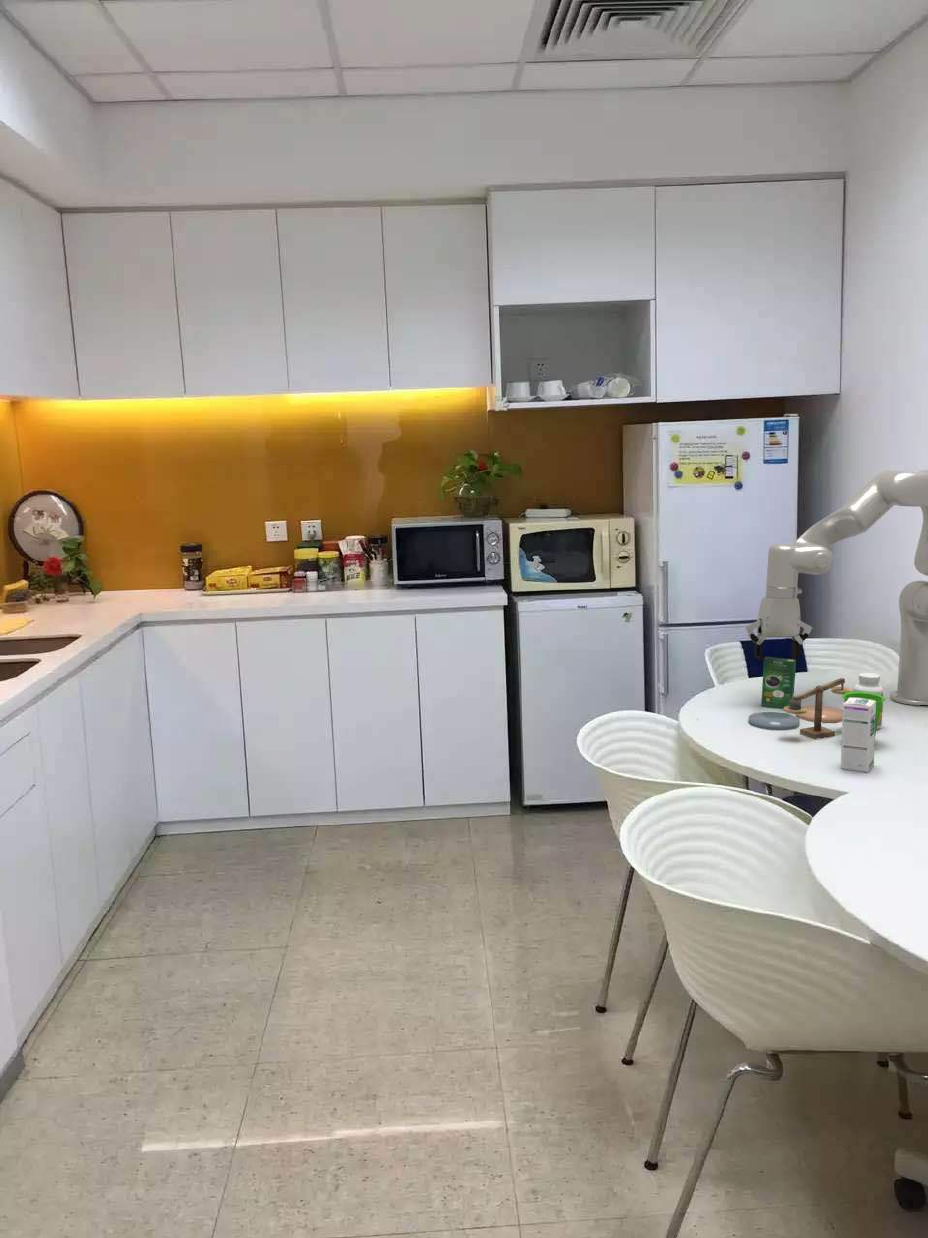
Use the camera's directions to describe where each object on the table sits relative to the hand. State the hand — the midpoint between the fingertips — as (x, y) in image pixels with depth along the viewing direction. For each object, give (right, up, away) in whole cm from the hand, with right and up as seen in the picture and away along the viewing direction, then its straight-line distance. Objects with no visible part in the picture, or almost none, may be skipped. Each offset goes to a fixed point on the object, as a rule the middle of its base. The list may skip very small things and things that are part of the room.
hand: (776, 658), depth 259 cm
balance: (+3, -17, -22) cm, 28 cm away
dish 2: (+9, -14, -7) cm, 18 cm away
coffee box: (+1, -13, +3) cm, 13 cm away
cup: (+10, -18, -29) cm, 36 cm away
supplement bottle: (+17, -16, -16) cm, 28 cm away
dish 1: (-4, -15, -12) cm, 20 cm away
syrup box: (+3, -22, -45) cm, 50 cm away
